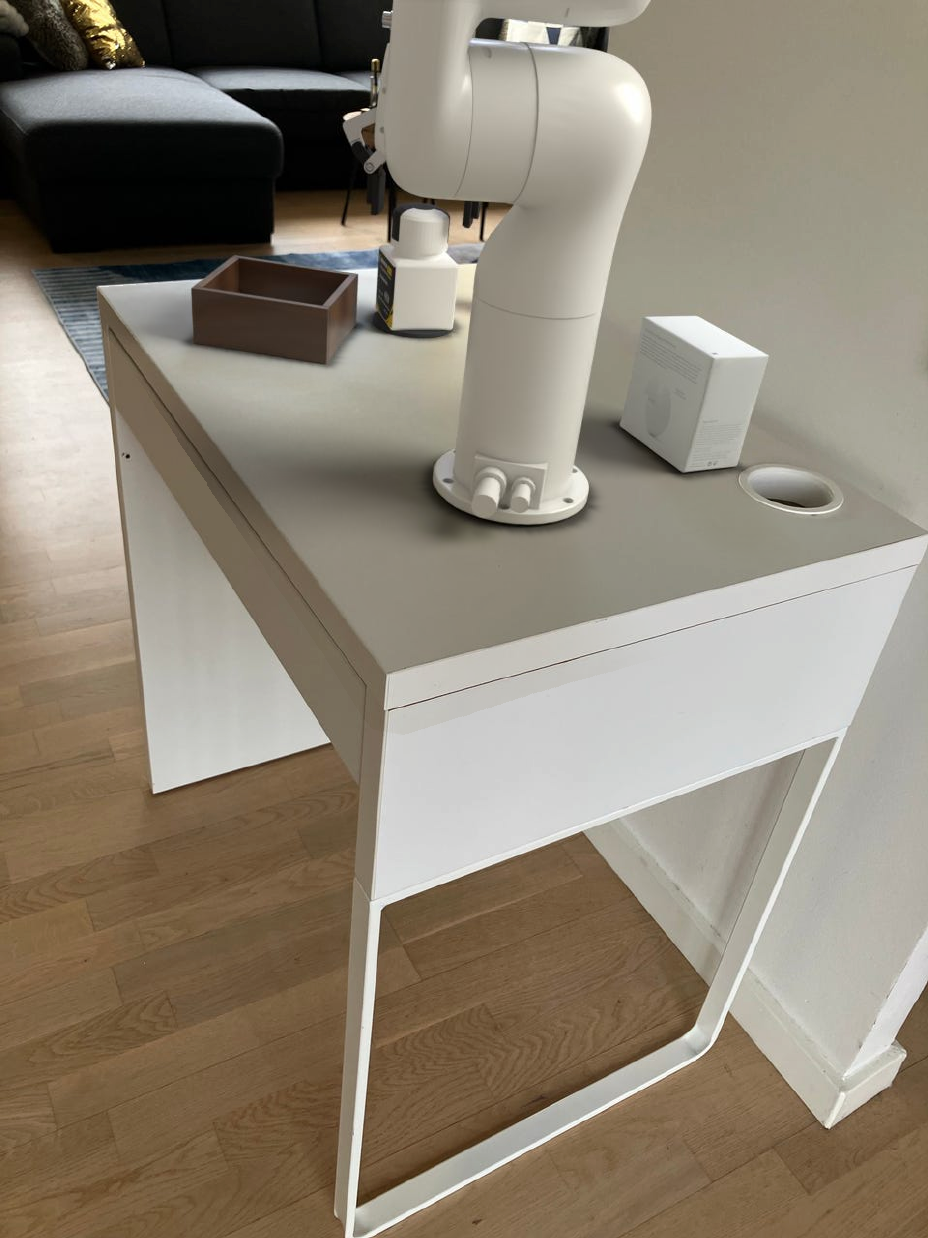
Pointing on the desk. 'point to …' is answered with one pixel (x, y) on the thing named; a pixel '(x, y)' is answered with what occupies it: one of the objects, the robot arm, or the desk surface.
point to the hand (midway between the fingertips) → (422, 218)
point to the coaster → (409, 333)
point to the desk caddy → (275, 308)
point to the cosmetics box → (692, 392)
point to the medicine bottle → (417, 271)
